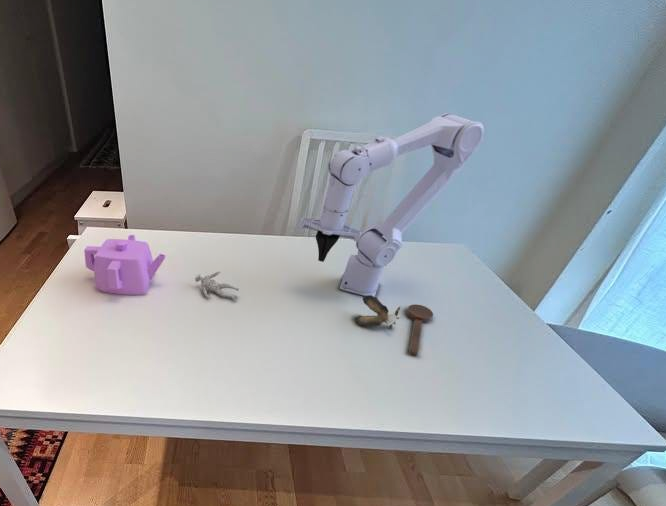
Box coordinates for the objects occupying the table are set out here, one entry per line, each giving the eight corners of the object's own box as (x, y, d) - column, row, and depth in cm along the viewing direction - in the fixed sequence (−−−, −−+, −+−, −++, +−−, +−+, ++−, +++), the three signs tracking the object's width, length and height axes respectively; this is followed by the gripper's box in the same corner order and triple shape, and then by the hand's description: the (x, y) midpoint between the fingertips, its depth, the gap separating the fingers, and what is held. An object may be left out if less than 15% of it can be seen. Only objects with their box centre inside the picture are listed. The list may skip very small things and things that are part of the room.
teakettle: (85, 279, 109) (76, 238, 100) (137, 261, 117) (133, 222, 109) (114, 307, 99) (107, 265, 91) (169, 285, 107) (167, 245, 99)
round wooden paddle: (426, 359, 87) (428, 354, 86) (398, 350, 89) (400, 346, 88) (431, 312, 101) (433, 308, 100) (407, 306, 103) (409, 301, 102)
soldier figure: (228, 308, 101) (188, 287, 102) (227, 310, 106) (189, 290, 107) (242, 282, 101) (201, 261, 102) (241, 285, 106) (202, 265, 106)
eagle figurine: (393, 312, 99) (359, 299, 100) (407, 302, 92) (370, 288, 93) (384, 338, 97) (350, 325, 98) (397, 330, 90) (360, 316, 91)
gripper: (301, 206, 90) (290, 258, 99) (364, 221, 85) (346, 274, 94) (309, 197, 95) (298, 247, 104) (369, 210, 90) (352, 262, 99)
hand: (321, 259), depth 99 cm, fingers closed
